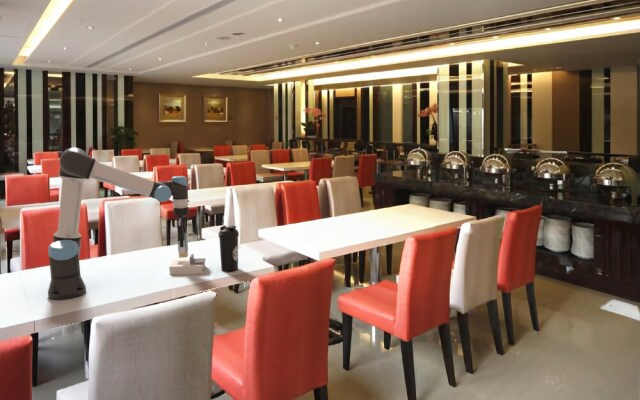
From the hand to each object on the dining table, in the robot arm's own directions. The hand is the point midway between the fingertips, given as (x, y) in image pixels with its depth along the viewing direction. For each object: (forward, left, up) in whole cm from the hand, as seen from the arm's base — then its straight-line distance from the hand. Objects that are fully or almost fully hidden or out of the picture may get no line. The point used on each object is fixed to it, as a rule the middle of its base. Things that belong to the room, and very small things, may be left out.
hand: (183, 251), depth 250 cm
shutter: (+6, -3, -6) cm, 9 cm away
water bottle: (+21, -11, -10) cm, 26 cm away
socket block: (+2, -1, -10) cm, 10 cm away
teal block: (0, 0, -3) cm, 3 cm away
